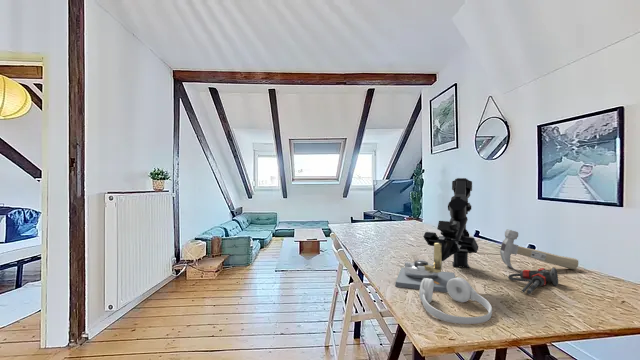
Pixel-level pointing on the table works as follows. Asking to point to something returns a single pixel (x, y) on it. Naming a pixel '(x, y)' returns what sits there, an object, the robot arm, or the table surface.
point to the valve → (536, 278)
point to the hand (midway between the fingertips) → (441, 260)
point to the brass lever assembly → (426, 266)
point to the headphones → (460, 293)
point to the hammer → (532, 253)
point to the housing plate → (410, 282)
